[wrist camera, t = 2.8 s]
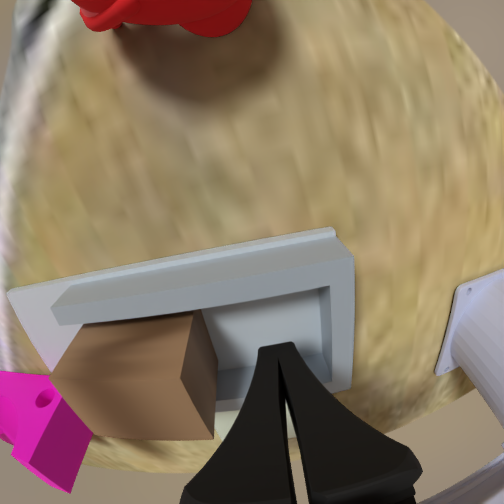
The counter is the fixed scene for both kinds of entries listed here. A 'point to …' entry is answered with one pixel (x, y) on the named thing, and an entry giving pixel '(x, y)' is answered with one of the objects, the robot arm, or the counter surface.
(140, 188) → the counter surface
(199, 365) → the walnut block
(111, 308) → the trough deck
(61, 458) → the magenta cradle bracket
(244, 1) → the red rounded piece
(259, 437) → the robot arm
